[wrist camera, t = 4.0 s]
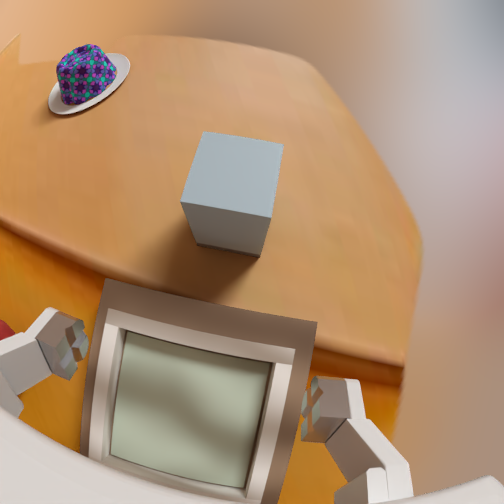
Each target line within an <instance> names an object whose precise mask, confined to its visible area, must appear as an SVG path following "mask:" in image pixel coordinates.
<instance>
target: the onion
mask: <svg viewBox="0 0 504 504" xmlns="http://www.w3.org/2000/svg"><path fill="white" fill-rule="evenodd" d="M13 335H16V334H15V332H14V331H13V330H12V329H11V328H10V327H9V326H8V325H7V324H6V323H5V322H4V321H2V320H0V341H1V340H3V339H6V338H8V337H11V336H13Z"/></svg>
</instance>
